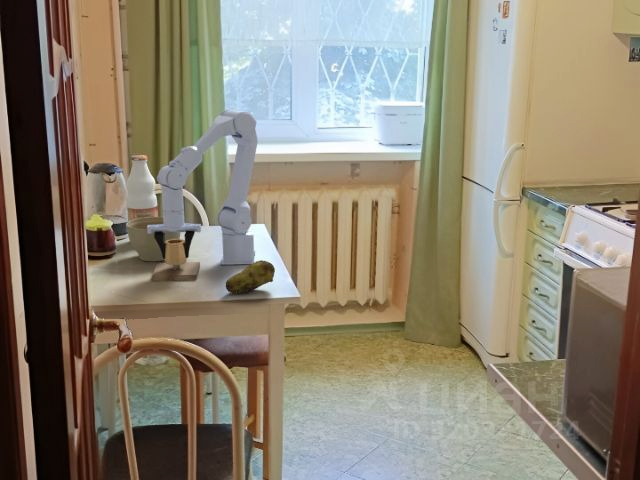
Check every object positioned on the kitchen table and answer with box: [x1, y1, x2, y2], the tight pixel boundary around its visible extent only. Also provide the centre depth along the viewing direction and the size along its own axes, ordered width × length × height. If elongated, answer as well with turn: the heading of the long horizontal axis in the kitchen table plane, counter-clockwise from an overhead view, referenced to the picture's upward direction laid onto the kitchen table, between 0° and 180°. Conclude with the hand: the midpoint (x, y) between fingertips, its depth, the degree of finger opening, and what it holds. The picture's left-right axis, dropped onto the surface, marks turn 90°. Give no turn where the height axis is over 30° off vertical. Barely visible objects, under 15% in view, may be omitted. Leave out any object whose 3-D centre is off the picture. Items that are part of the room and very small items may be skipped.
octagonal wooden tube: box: [164, 238, 188, 265], centre depth 219 cm, size 6×6×6 cm
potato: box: [225, 259, 276, 294], centre depth 205 cm, size 8×13×8 cm, turn 95°
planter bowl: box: [125, 216, 182, 262], centre depth 235 cm, size 16×16×11 cm
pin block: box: [151, 261, 201, 282], centre depth 220 cm, size 12×12×6 cm
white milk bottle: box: [125, 154, 159, 244], centre depth 250 cm, size 9×9×28 cm
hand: (175, 257), depth 219 cm, fingers closed on octagonal wooden tube, 6 cm apart
